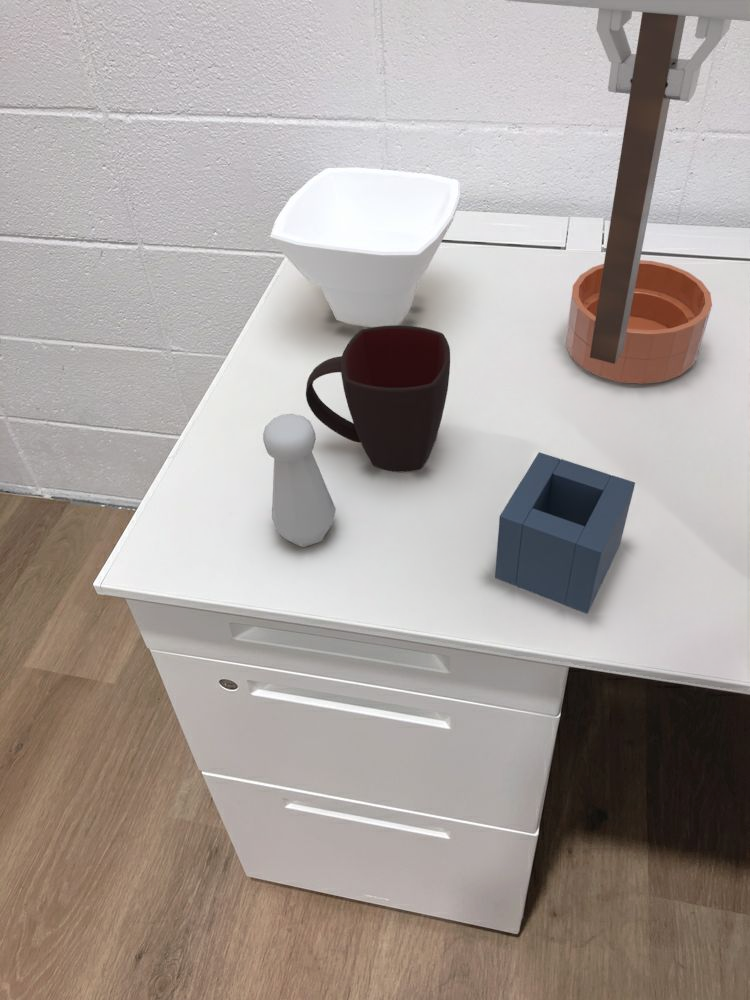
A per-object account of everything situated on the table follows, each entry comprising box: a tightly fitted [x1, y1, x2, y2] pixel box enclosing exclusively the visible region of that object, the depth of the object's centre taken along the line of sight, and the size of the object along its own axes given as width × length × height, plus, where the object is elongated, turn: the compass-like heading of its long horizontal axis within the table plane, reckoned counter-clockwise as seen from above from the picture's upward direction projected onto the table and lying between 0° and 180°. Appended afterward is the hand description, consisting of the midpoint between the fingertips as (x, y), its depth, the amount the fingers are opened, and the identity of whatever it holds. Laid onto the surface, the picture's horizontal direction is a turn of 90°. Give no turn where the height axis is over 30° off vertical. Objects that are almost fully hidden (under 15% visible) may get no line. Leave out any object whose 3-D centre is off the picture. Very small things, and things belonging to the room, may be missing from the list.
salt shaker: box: [262, 413, 336, 548], centre depth 70 cm, size 6×6×13 cm
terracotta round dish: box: [565, 259, 713, 385], centre depth 89 cm, size 14×14×7 cm
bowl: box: [269, 166, 461, 328], centre depth 94 cm, size 19×19×14 cm
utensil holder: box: [494, 451, 636, 614], centre depth 68 cm, size 8×8×8 cm
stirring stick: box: [590, 12, 687, 364], centre depth 53 cm, size 2×2×24 cm
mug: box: [305, 324, 451, 473], centre depth 77 cm, size 10×14×12 cm
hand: (651, 93), depth 48 cm, fingers closed on stirring stick, 2 cm apart
